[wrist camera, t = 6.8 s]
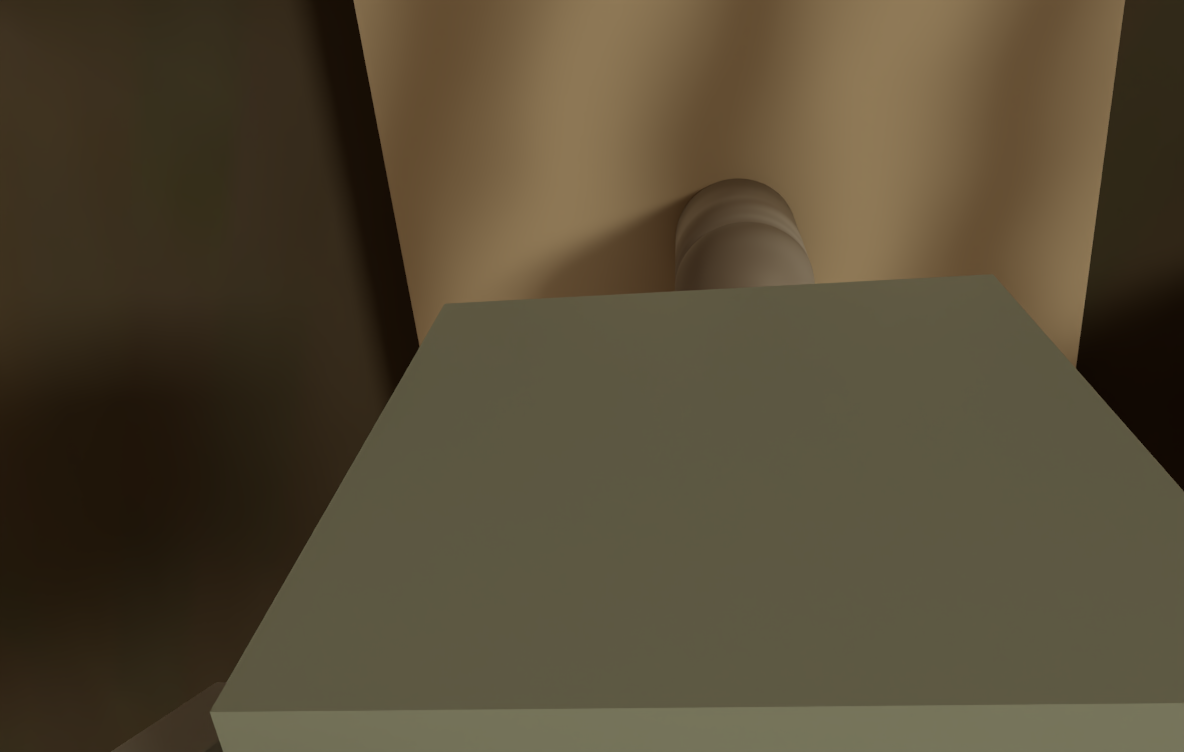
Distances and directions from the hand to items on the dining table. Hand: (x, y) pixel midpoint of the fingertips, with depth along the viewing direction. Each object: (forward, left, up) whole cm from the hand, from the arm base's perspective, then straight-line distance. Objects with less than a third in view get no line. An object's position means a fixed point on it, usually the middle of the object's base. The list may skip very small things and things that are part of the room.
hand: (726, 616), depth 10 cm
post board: (-1, +1, -16) cm, 16 cm away
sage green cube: (0, 0, -2) cm, 2 cm away
